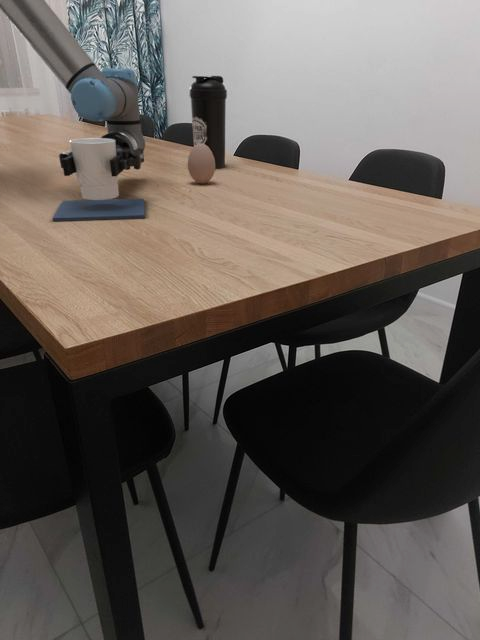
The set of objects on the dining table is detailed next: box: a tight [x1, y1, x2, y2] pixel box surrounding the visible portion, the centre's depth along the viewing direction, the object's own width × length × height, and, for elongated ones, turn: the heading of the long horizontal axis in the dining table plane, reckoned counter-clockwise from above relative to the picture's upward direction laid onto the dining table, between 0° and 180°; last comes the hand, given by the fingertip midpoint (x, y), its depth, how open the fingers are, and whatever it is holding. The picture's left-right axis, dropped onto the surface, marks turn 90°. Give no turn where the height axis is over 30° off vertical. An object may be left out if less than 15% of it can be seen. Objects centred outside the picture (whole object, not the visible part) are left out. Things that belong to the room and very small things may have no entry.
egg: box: [187, 143, 216, 185], centre depth 120 cm, size 7×7×9 cm
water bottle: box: [188, 75, 228, 170], centre depth 139 cm, size 10×10×23 cm
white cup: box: [69, 137, 120, 200], centre depth 93 cm, size 8×8×10 cm
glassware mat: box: [52, 198, 146, 222], centre depth 97 cm, size 16×14×1 cm
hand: (89, 168), depth 88 cm, fingers closed on white cup, 8 cm apart
